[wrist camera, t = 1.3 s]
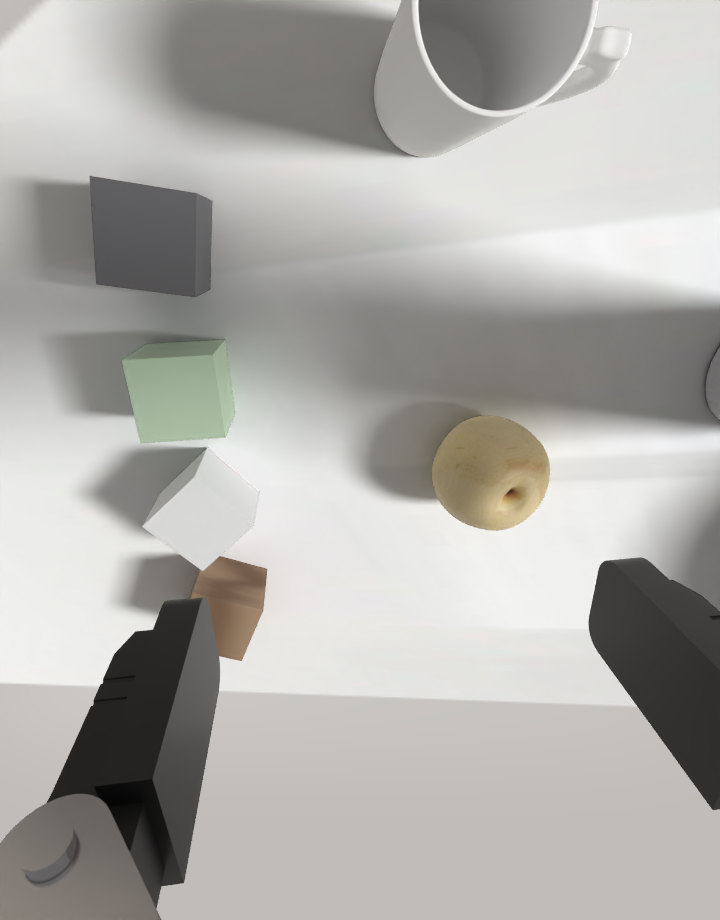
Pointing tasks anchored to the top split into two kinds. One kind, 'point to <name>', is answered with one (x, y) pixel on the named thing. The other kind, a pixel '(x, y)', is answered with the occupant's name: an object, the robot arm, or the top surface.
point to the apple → (490, 473)
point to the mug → (486, 66)
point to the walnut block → (232, 602)
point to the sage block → (180, 390)
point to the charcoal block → (151, 237)
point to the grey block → (204, 510)
